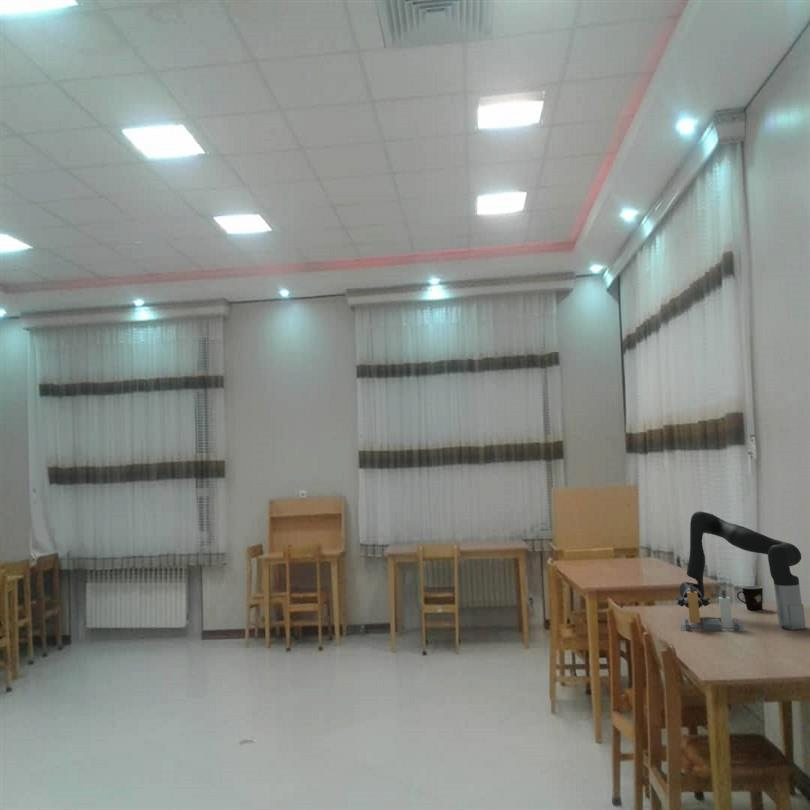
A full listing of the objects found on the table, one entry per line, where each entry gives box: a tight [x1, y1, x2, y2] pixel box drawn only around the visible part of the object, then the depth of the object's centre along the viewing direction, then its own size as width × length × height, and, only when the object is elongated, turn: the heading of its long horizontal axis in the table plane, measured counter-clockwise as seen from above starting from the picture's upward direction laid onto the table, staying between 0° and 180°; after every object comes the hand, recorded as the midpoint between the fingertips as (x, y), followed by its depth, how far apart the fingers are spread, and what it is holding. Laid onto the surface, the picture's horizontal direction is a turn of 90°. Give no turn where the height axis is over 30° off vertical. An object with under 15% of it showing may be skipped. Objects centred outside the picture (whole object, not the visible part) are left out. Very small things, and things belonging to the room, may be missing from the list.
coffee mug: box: [736, 585, 764, 612], centre depth 346 cm, size 12×9×10 cm
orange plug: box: [687, 585, 701, 624], centre depth 313 cm, size 4×4×15 cm
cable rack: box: [680, 618, 745, 632], centre depth 310 cm, size 24×12×4 cm, turn 70°
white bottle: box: [718, 589, 734, 629], centre depth 309 cm, size 4×4×15 cm
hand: (693, 605), depth 311 cm, fingers closed on orange plug, 4 cm apart
